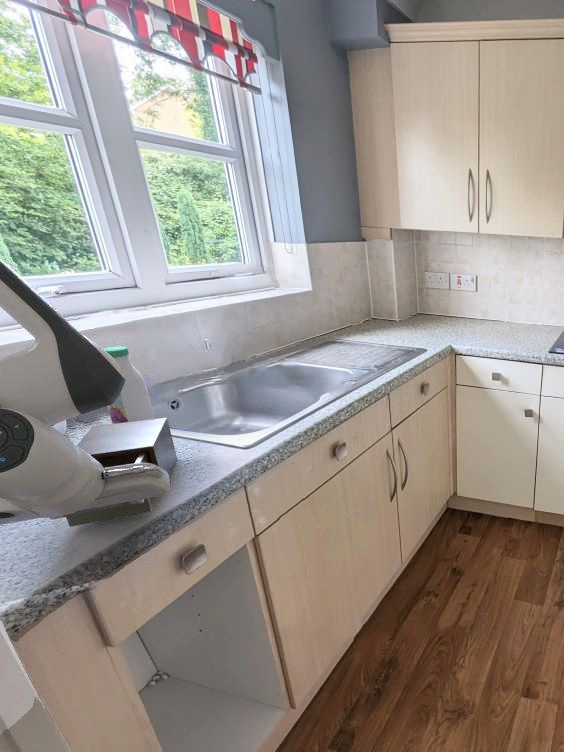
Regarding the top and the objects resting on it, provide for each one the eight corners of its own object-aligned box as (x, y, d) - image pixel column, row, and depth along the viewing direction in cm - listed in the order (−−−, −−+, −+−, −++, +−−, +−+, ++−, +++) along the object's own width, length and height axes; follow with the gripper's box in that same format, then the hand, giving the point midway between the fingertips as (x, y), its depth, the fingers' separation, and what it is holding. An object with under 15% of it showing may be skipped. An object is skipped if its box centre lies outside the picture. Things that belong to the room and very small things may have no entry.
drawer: (145, 525, 74) (133, 483, 71) (59, 542, 69) (43, 498, 67) (165, 475, 89) (155, 439, 86) (95, 487, 84) (82, 449, 81)
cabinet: (165, 491, 85) (153, 445, 82) (82, 506, 80) (66, 458, 76) (177, 458, 97) (167, 417, 94) (106, 469, 91) (92, 426, 88)
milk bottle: (154, 420, 115) (134, 343, 108) (158, 429, 110) (138, 349, 103) (113, 427, 109) (89, 347, 103) (116, 438, 104) (91, 354, 97)
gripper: (155, 445, 67) (180, 474, 78) (-50, 474, 57) (13, 501, 68) (156, 486, 64) (182, 509, 76) (-56, 523, 55) (9, 543, 66)
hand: (100, 506), depth 72 cm, fingers open, 8 cm apart
